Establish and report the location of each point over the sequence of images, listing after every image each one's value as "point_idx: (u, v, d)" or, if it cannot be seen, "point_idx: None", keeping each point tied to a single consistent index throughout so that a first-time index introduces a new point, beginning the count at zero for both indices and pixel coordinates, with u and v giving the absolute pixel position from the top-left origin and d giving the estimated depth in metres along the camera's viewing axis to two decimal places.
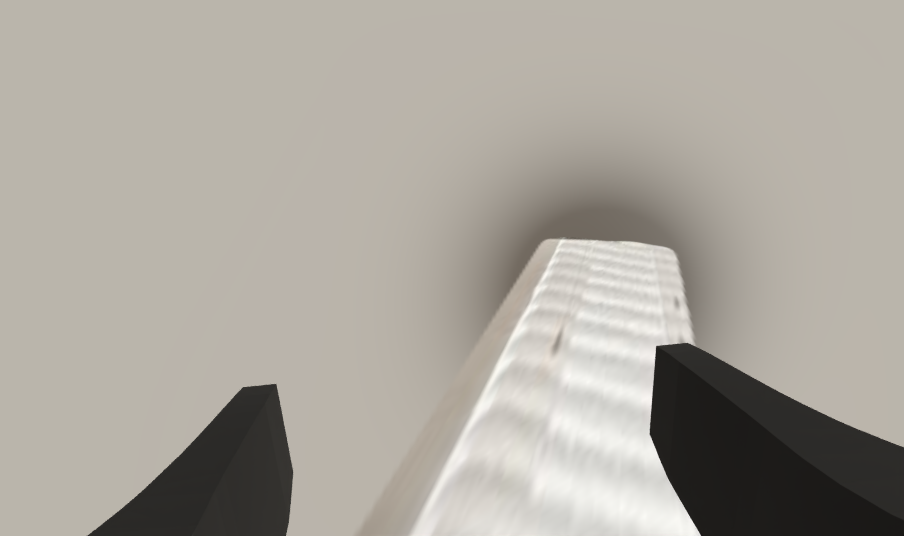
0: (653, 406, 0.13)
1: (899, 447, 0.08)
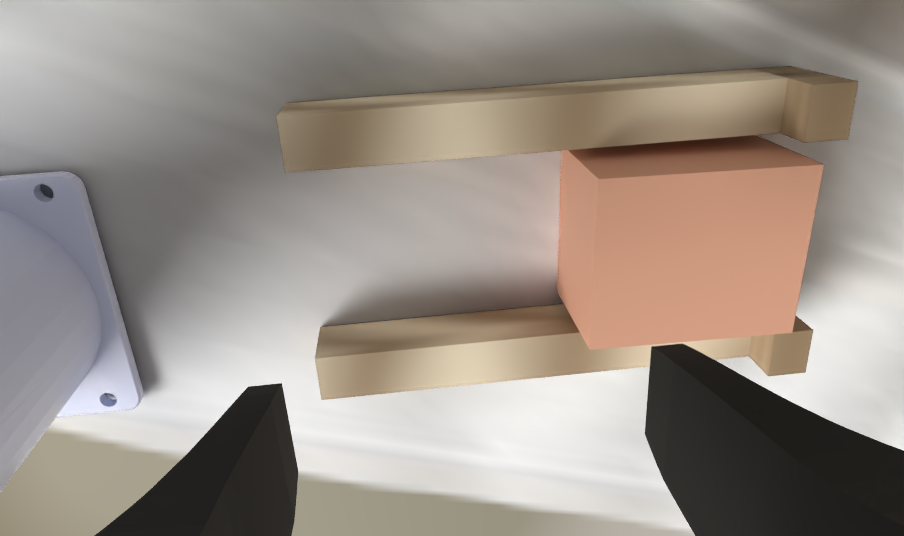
0: (648, 407, 0.13)
1: (892, 448, 0.08)
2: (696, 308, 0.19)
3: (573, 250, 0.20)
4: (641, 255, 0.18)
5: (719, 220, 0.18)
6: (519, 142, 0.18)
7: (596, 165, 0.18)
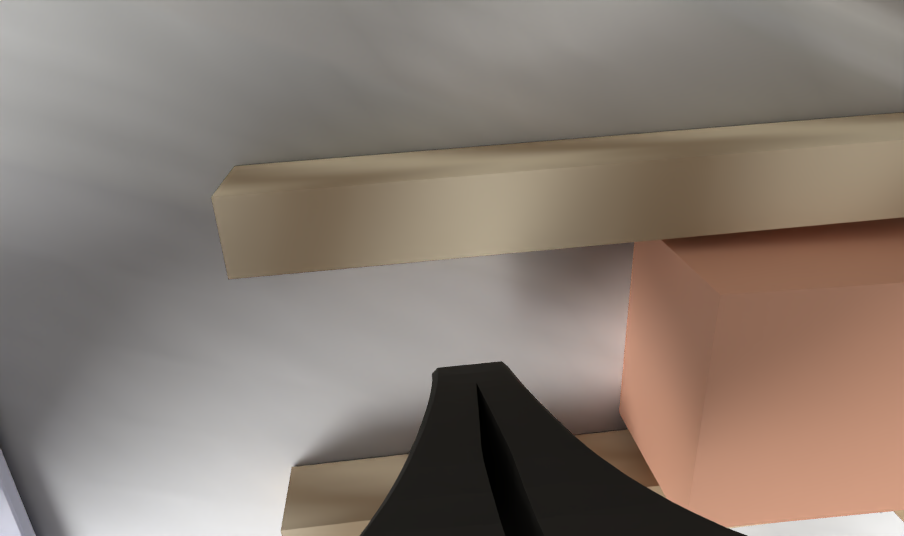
0: None
1: (627, 478, 0.08)
2: (845, 473, 0.13)
3: (655, 374, 0.14)
4: (774, 403, 0.12)
5: (895, 352, 0.12)
6: (585, 230, 0.12)
7: (704, 263, 0.12)
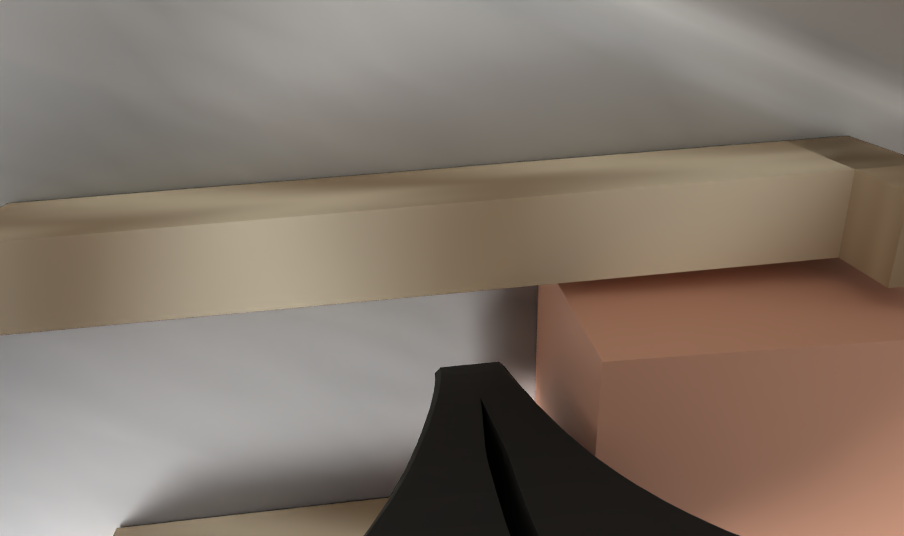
0: None
1: (623, 478, 0.08)
2: None
3: None
4: (676, 481, 0.10)
5: (817, 423, 0.10)
6: (388, 280, 0.11)
7: (598, 318, 0.10)
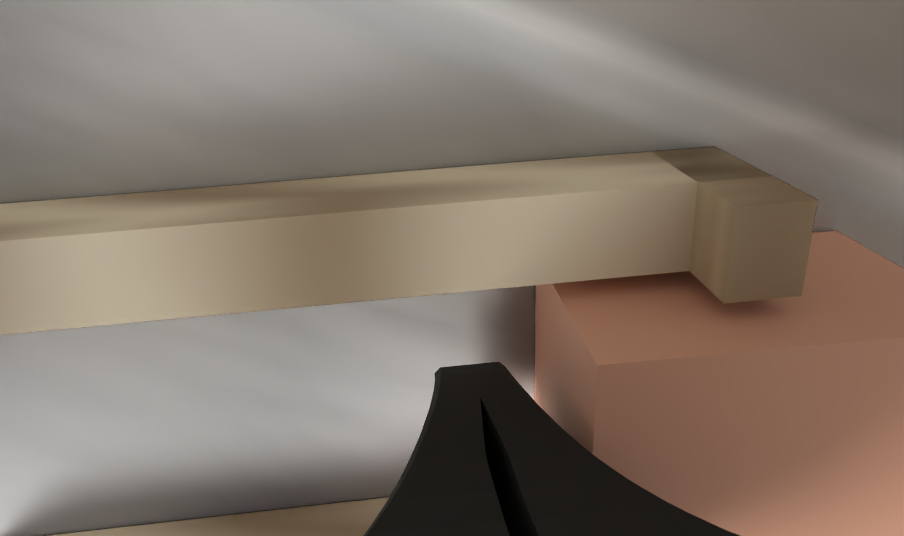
0: None
1: (623, 478, 0.08)
2: None
3: None
4: (675, 482, 0.10)
5: (815, 423, 0.10)
6: (224, 295, 0.10)
7: (593, 320, 0.10)
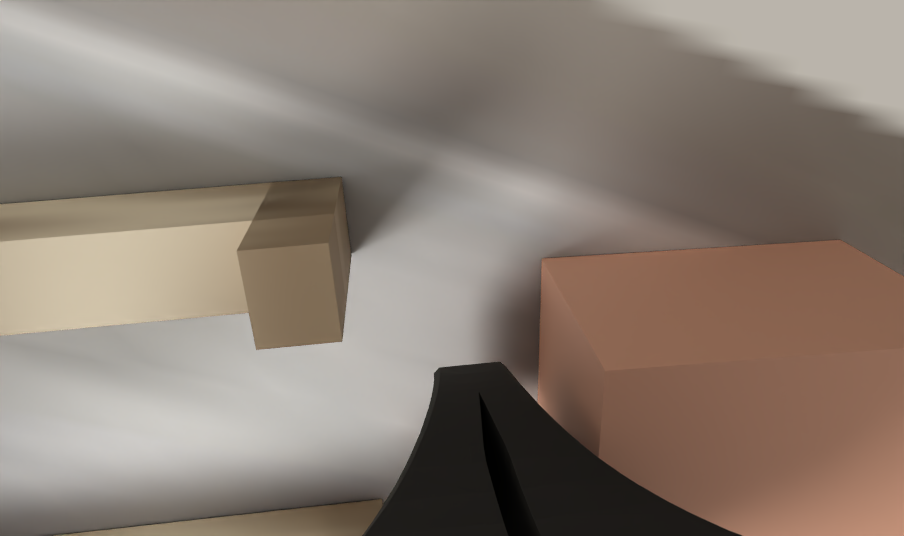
0: None
1: (624, 478, 0.08)
2: None
3: None
4: (679, 489, 0.10)
5: (819, 431, 0.10)
6: None
7: (600, 326, 0.10)
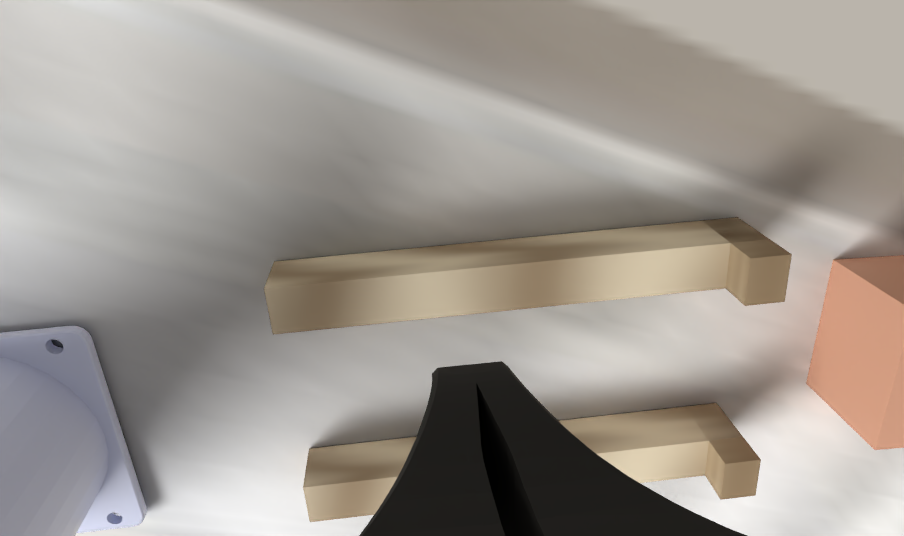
0: None
1: (627, 478, 0.08)
2: None
3: (849, 357, 0.23)
4: None
5: None
6: (486, 303, 0.20)
7: (894, 291, 0.21)
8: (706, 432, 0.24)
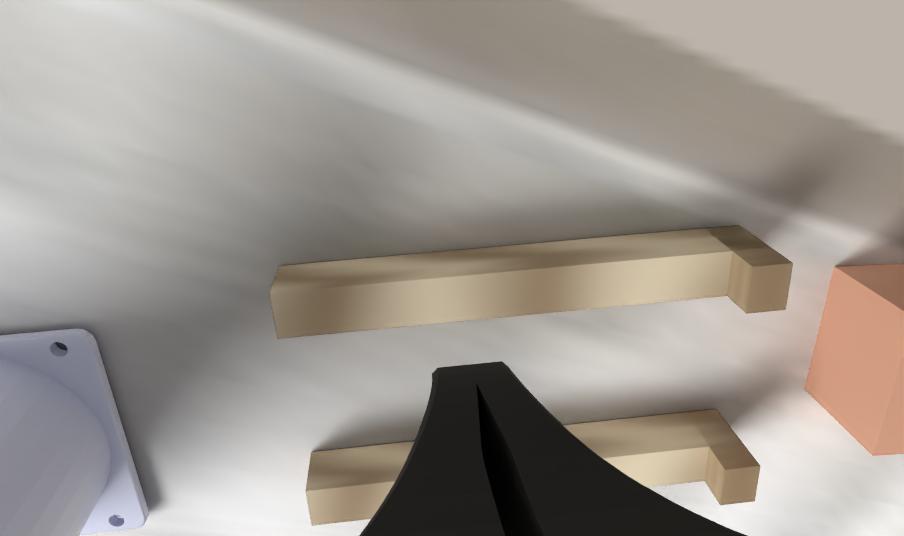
0: None
1: (627, 478, 0.08)
2: None
3: (848, 363, 0.23)
4: None
5: None
6: (489, 309, 0.20)
7: (894, 298, 0.21)
8: (706, 438, 0.24)
